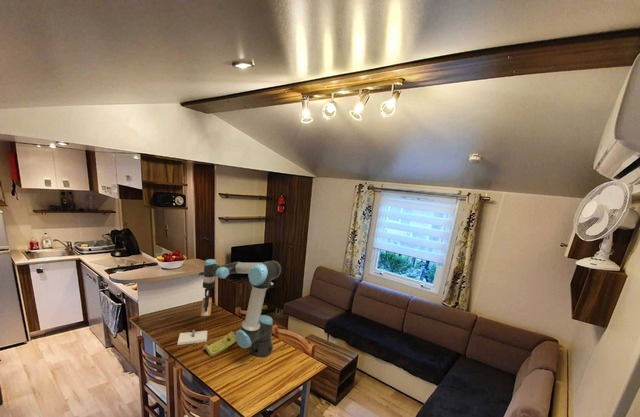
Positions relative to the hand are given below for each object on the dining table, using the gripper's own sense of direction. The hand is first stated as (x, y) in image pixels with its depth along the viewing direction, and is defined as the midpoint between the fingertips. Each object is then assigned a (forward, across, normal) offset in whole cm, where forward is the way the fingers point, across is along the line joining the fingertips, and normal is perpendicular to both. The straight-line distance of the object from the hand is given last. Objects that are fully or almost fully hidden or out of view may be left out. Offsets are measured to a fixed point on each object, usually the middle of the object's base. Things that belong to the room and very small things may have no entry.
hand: (205, 312), depth 184 cm
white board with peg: (+18, +1, -7) cm, 19 cm away
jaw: (+1, 0, 0) cm, 1 cm away
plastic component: (+18, +16, +12) cm, 27 cm away
